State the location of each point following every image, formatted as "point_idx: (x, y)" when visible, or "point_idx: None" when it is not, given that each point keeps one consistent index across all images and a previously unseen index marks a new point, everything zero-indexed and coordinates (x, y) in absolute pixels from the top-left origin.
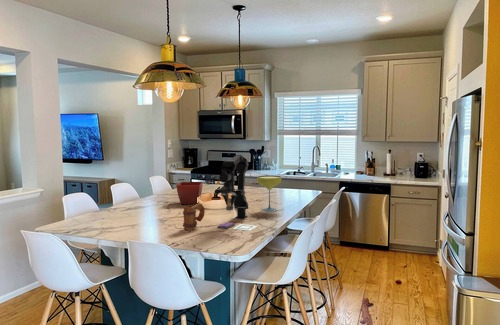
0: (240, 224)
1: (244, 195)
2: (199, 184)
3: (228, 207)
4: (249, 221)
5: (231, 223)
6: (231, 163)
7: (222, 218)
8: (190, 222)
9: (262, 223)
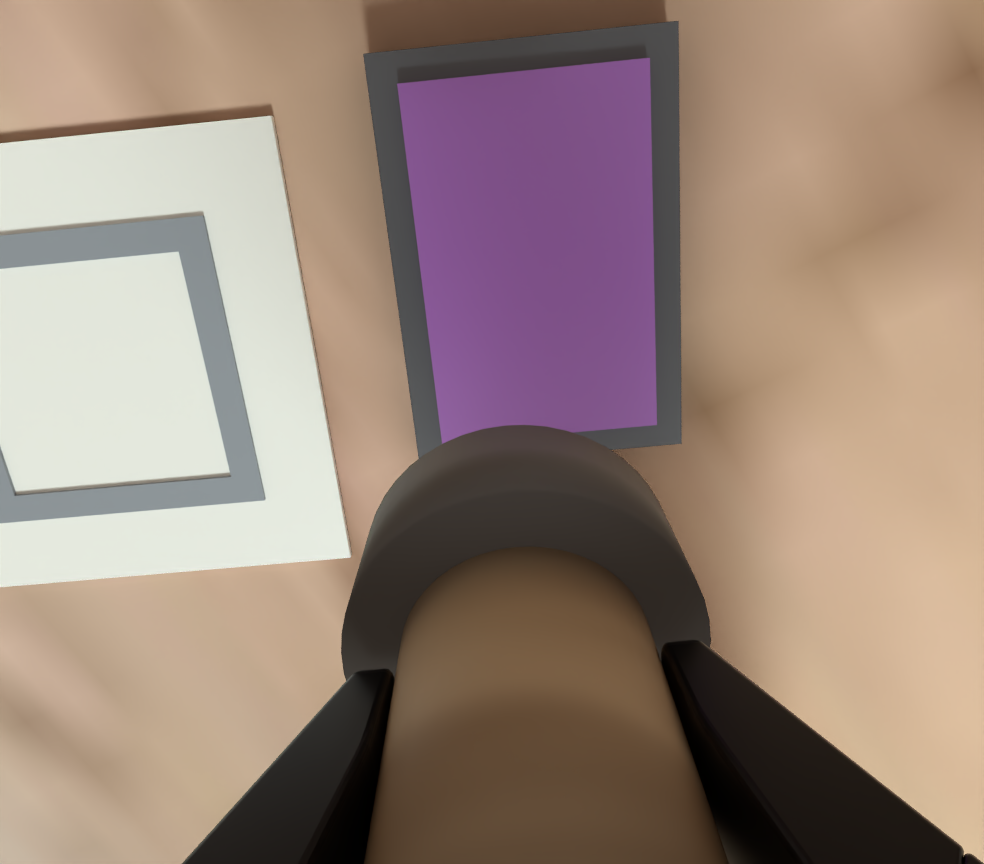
0: (334, 531)
1: None
2: None
3: (485, 485)
4: None
5: (474, 408)
6: None
7: (952, 781)
8: None
9: (36, 780)
